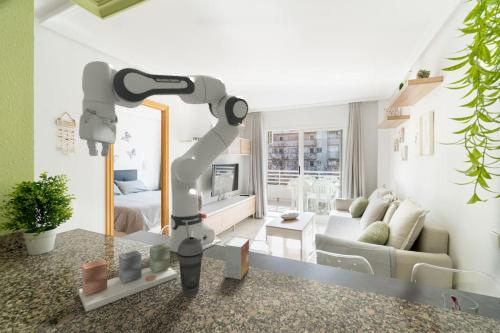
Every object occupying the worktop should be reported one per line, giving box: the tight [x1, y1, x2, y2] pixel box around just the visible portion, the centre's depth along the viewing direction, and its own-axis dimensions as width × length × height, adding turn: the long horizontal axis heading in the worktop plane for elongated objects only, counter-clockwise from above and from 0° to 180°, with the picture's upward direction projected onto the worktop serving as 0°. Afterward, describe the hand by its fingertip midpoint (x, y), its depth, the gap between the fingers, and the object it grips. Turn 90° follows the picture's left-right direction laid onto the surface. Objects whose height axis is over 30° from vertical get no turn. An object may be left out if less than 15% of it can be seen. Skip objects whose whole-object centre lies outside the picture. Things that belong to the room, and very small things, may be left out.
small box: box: [224, 237, 250, 280], centre depth 77 cm, size 8×6×10 cm
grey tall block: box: [118, 250, 142, 283], centre depth 69 cm, size 5×4×7 cm
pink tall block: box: [81, 258, 108, 296], centre depth 63 cm, size 5×4×7 cm
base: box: [78, 266, 178, 313], centre depth 69 cm, size 24×10×2 cm, turn 134°
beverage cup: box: [176, 222, 204, 297], centre depth 65 cm, size 7×7×20 cm
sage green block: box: [149, 243, 171, 272], centre depth 76 cm, size 5×4×7 cm
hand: (99, 156), depth 75 cm, fingers open, 8 cm apart
